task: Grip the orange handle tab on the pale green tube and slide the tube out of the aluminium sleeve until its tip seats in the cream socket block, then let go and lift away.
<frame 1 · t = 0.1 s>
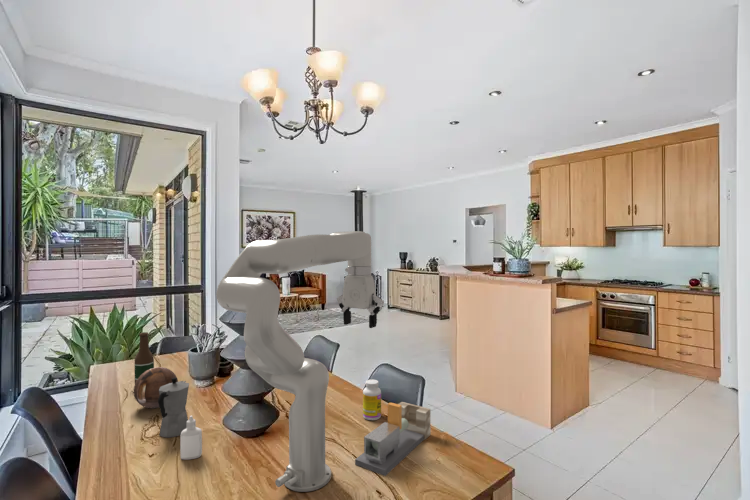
hand: (359, 325, 122), 37 cm above the table, tool pointing down, fingers open, 9 cm apart
supplement bottle: (372, 417, 139), on the table
wooden sphere: (156, 407, 149), on the table
coffeepot: (172, 433, 128), on the table
slip tube: (391, 422, 116), point 9 cm above the table, slide at 0.0 cm
beer bottle: (144, 387, 170), on the table
socket block: (413, 432, 127), on the table
eye dropper bottle: (191, 457, 113), on the table
base board: (392, 450, 117), on the table
sleeve: (382, 459, 112), resting on base board
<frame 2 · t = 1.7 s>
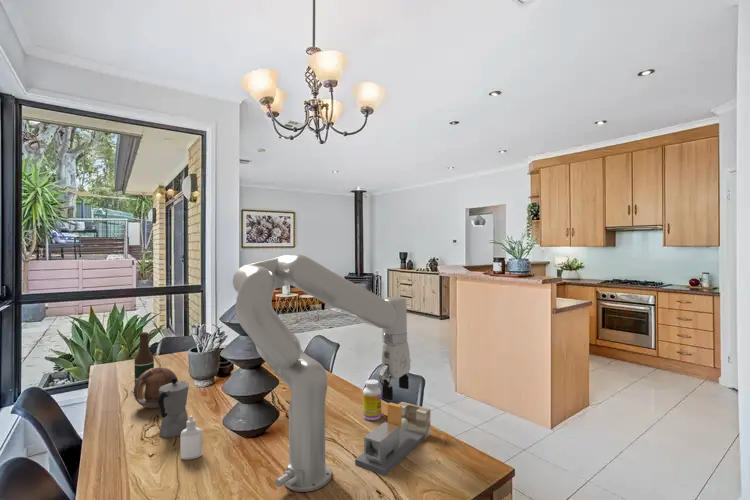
hand: (396, 393, 118), 17 cm above the table, tool pointing down, fingers open, 9 cm apart
nothing on the table moved.
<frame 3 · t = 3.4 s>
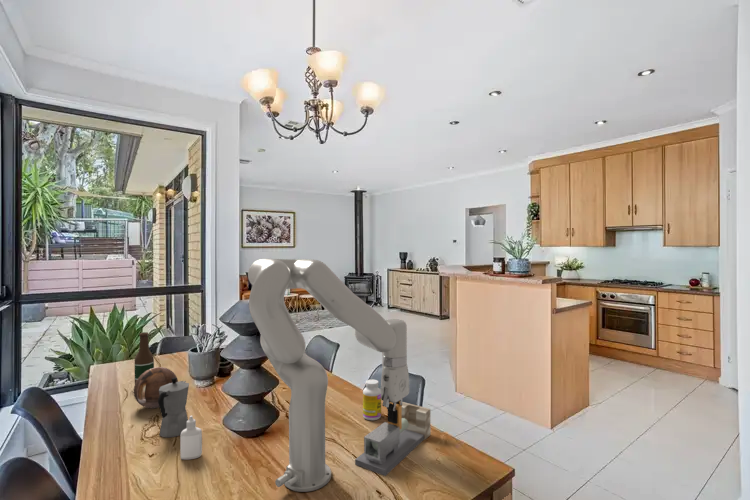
hand: (394, 420, 117), 9 cm above the table, tool pointing down, fingers closed on slip tube
slip tube: (391, 422, 116), point 9 cm above the table, slide at 0.0 cm, touching gripper
everything else where it was.
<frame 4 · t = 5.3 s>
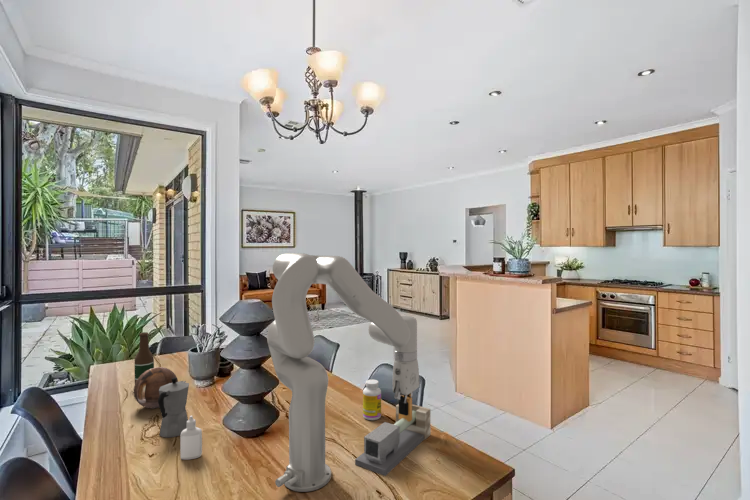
hand: (405, 412, 123), 9 cm above the table, tool pointing down, fingers closed on slip tube
slip tube: (402, 414, 121), point 9 cm above the table, slide at 6.8 cm, touching gripper
everything else where it was.
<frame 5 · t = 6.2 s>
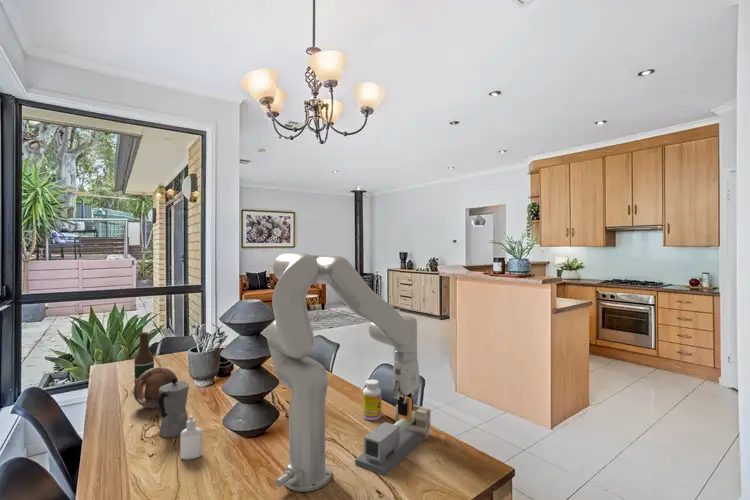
hand: (405, 412, 123), 9 cm above the table, tool pointing down, fingers open, 3 cm apart
slip tube: (402, 414, 121), point 9 cm above the table, slide at 6.7 cm
everything else where it was.
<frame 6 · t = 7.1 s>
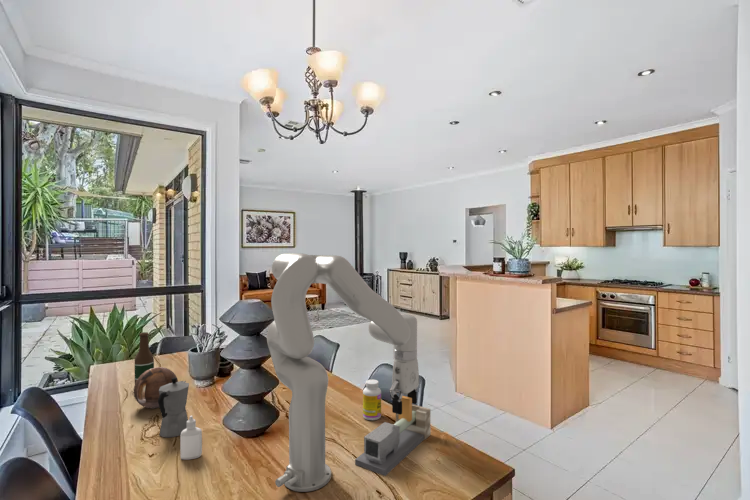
hand: (404, 407, 123), 10 cm above the table, tool pointing down, fingers open, 9 cm apart
nothing on the table moved.
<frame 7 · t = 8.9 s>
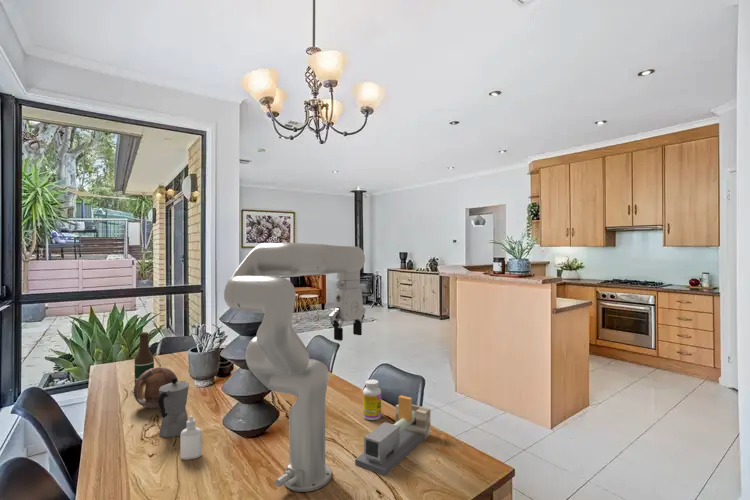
hand: (348, 337, 126), 32 cm above the table, tool pointing down, fingers open, 9 cm apart
nothing on the table moved.
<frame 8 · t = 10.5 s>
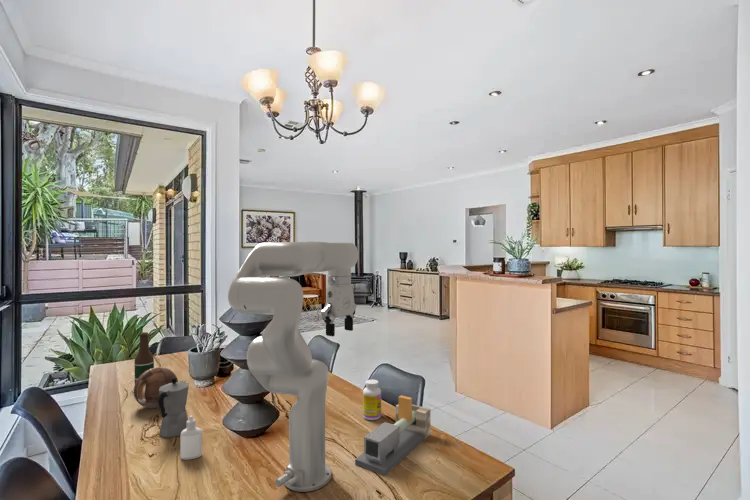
hand: (339, 332, 127), 33 cm above the table, tool pointing down, fingers open, 9 cm apart
nothing on the table moved.
at the end: slip tube slide at 6.7 cm; the gripper is holding nothing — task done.
